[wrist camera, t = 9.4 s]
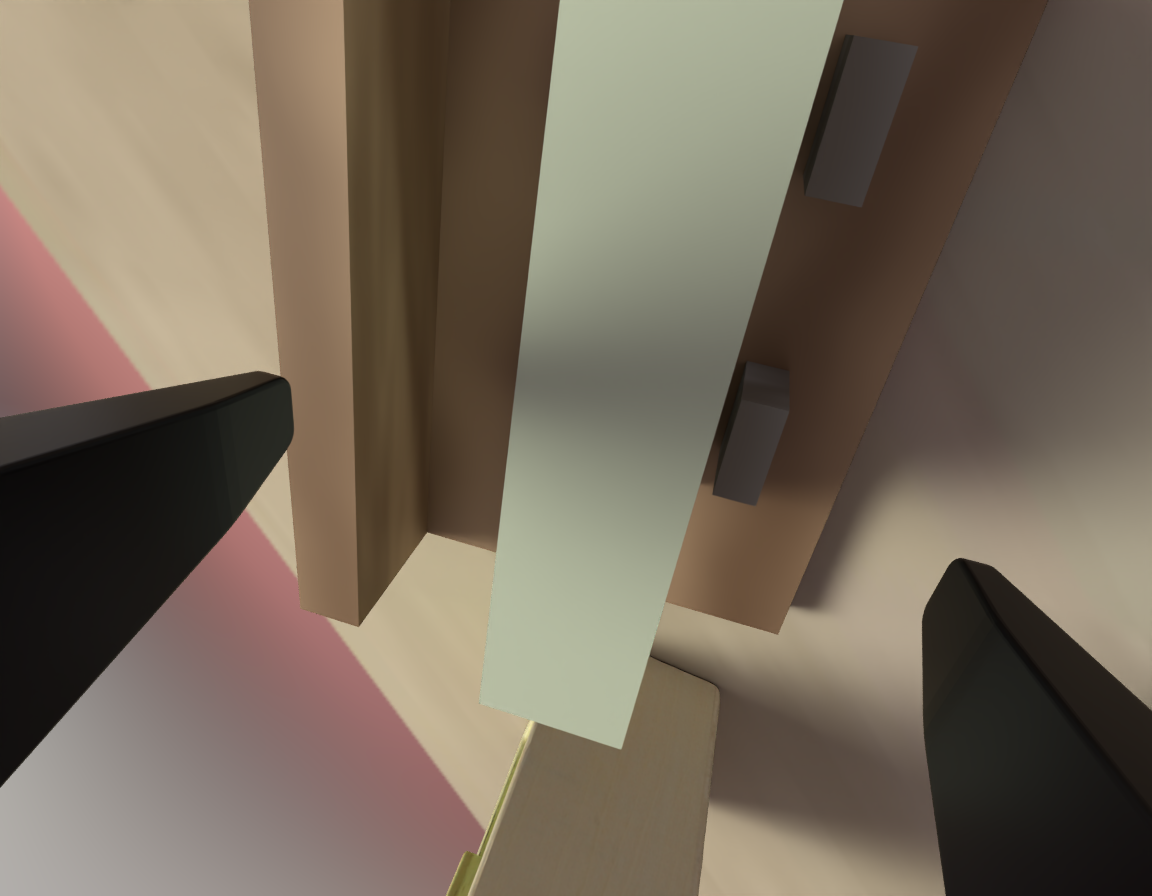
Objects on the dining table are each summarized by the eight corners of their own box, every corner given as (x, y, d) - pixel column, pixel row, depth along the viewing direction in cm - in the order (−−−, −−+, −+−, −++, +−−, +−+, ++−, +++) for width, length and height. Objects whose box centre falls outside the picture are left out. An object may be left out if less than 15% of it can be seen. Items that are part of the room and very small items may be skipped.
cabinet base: (1168, -339, 13) (1441, -603, 8) (778, 605, 26) (775, 758, 20) (364, -416, 15) (128, -662, 10) (372, 489, 28) (271, 599, 23)
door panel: (835, -57, 15) (892, -163, 7) (683, 481, 22) (621, 749, 14) (695, -79, 15) (583, -206, 7) (592, 457, 23) (478, 703, 15)
